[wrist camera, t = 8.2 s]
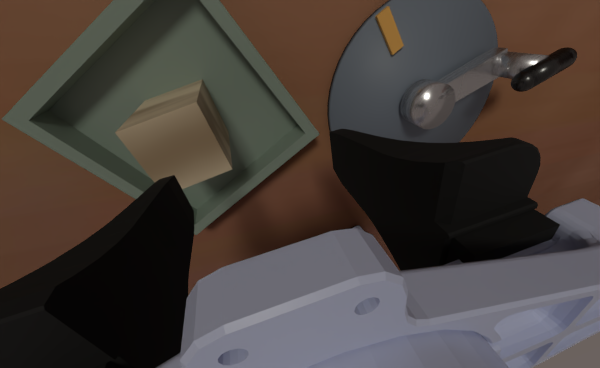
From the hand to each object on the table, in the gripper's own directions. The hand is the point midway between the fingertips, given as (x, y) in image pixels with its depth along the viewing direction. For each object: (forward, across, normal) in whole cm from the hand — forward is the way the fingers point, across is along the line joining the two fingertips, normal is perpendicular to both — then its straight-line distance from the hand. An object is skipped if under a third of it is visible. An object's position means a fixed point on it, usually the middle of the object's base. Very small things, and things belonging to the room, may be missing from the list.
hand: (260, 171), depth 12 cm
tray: (+9, +4, -1) cm, 10 cm away
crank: (+8, -18, +1) cm, 20 cm away
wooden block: (+9, +4, -1) cm, 10 cm away
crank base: (+9, -15, +2) cm, 18 cm away
